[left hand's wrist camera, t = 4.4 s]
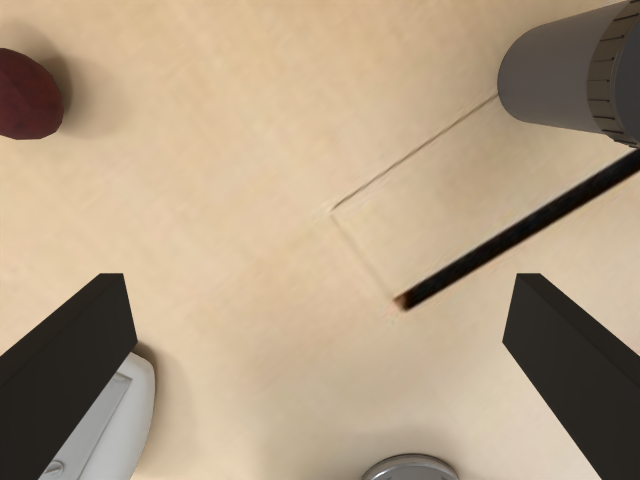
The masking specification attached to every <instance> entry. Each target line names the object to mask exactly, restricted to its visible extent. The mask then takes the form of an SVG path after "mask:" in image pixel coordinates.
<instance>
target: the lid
mask: <svg viewBox="0 0 640 480" xmlns="http://www.w3.org/2000/svg"><path fill="white" fill-rule="evenodd" d="M586 92H587V102H588V105H589V110H590V112H591V115H592V118H593V119H594V121H595V122H596V124H597V126H598V127H599V128H600V129H601V130H602V132H604V133H605V134H606V135H607V136H609V137H610V138H612V139H613V140H614V142H619V143H622V144H625V145H629V147H632V148H637V149H640V0H631V1H630V3H628V4H627V5H626V6H625V7H624V8H623V9H622V10H621V11H620V12H619V13H618V14H617V16H616V17H615V18H613V21H612V22H611V23H610V24H609V26H608V27H607V29H606V30H605V32H604V33H603V35H602V37H601V38H600V40H599V42H598V44H597V46H596V48H595V51H594V53H593V56H592V59H591V61H590V66H589V70H588V76H587V88H586Z"/></svg>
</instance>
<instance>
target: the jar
mask: <svg viewBox="0 0 640 480" xmlns="http://www.w3.org/2000/svg"><path fill="white" fill-rule="evenodd" d="M630 1H631V0H626V1H623V2H620V3H616V4H613V5H609V6H606V7H603V8H599V9H596V10H592V11H589V12H586V13H582V14H579V15H575V16H572V17H568V18H565V19H562V20H558V21H555V22H551V23H548V24H545V25H541V26H538V27H536V28H533V29H532V30H530V31H528V32H526V33H525V34H524V35H522V36H521V37H520V38H519V39H518V40H517V41H516V42H515V43H514V44H513V45H512V46H511V47H510V49H509V50H508V52H507V53H506V55H505V57H504V59H503V61H502V63H501V66H500V69H499V74H498V93H499V97H500V100H501V103H502V105H503V106H504V108H505V109H506V111H507V112H508V113H509V114H510V115H512V116H513V117H514V118H516V119H518V120H521V121H523V122H528V123H534V124H541V125H547V126H553V127H560V128H566V129H573V130H579V131H586V132H592V133H599V134H605V133H604V132H602V130H601V129H600V128H599V127H598V126H597V124H596V122H595V121H594V119H593V118H592V115H591V112H590V110H589V105H588V102H587V92H586V88H587V76H588V70H589V66H590V61H591V59H592V56H593V53H594V51H595V48H596V46H597V44H598V42H599V40H600V38H601V37H602V35H603V33H604V32H605V30H606V29H607V27H608V26H609V24H610V23H611V22H612V21H613V18H615V17H616V16H617V14H618V13H619V12H620V11H621V10H622V9H623V8H624V7H625V6H626V5H627V4H628V3H630ZM605 135H606V134H605Z"/></svg>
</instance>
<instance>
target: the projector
mask: <svg viewBox="0 0 640 480" xmlns="http://www.w3.org/2000/svg"><path fill="white" fill-rule="evenodd" d="M154 398H155V375H154V369H153V366H152V365H151V364H150V363H149V362H148V361H147V360H145V359H143V358H141V357H139V356H137V355H135V354H134V353H132V352H130V353H129V355H128V356H127V358H126V359H125V360H124V362H123V363H122V365H121V366H120V367H119V369H118V370H117V371H116V373H115V374H114V376H113V377H112V378H111V380H110V381H109V382H108V384H107V385H106V387H105V388H104V389H103V391H102V392H101V394H100V395H99V396H98V398H97V399H96V400H95V402H94V403H93V405H92V406H91V407H90V409H89V410H88V412H87V413H86V414H85V416H84V417H83V418H82V420H81V421H80V423H79V424H78V425H77V427H76V428H75V429H74V431H73V432H72V434H71V435H70V436H69V438H68V439H67V441H66V442H65V443H64V445H63V446H62V447H61V449H60V450H59V452H58V453H57V454H56V456H55V457H54V458H53V460H52V461H51V463H50V464H49V465H48V467H47V468H46V470H45V471H44V472H43V474H42V475H41V476H40V478H39V479H38V480H130V478H131V476H132V474H133V472H134V470H135V468H136V466H137V464H138V461H139V459H140V457H141V454H142V452H143V449H144V446H145V443H146V440H147V437H148V433H149V430H150V425H151V421H152V415H153V408H154Z"/></svg>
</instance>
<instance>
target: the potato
mask: <svg viewBox="0 0 640 480" xmlns="http://www.w3.org/2000/svg"><path fill="white" fill-rule="evenodd" d="M62 117H63V104H62V99H61V94H60V91H59V89H58V87H57V85H56V83H55V81H54V79H53V77H52V75H51V74H50V73H48V72H47V71H46V70H45V69H44V68H43V67H42V66H41V65H40V64H38V63H37V62H35V61H34V60H32V59H31V58H29V57H27V56H26V55H24V54H21V53H18V52H16V51H13V50H9V49H6V48H0V135H2V136H5V137H9V138H12V139H15V140H27V139H42V138H44V137H46V136H48V135H51V134H53V133H55V132H56V131H57V129H58V128H59V126H60V125H61V123H62Z"/></svg>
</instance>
